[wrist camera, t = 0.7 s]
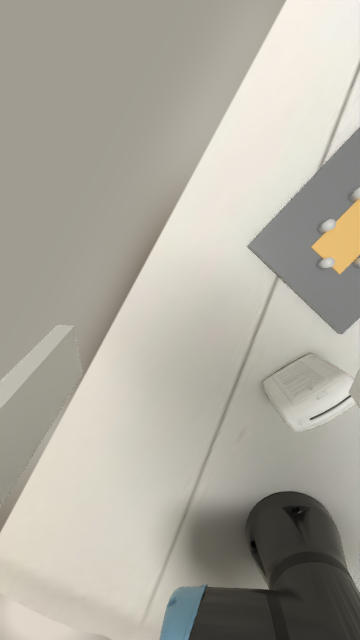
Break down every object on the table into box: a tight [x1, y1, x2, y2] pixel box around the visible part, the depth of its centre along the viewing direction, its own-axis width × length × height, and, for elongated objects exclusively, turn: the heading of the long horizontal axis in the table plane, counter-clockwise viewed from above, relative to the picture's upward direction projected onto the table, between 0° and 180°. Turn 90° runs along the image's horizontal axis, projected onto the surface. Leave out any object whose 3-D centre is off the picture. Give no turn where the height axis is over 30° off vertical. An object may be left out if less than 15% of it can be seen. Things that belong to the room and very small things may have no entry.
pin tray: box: [248, 128, 360, 334], centre depth 36 cm, size 20×24×4 cm
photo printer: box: [263, 354, 356, 432], centre depth 35 cm, size 10×4×12 cm, turn 124°
